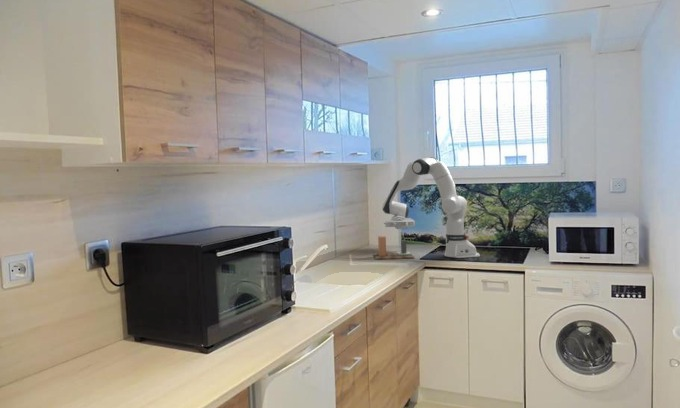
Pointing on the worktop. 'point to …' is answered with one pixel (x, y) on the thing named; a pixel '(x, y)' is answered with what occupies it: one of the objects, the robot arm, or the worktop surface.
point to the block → (382, 245)
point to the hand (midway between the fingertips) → (401, 224)
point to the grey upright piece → (403, 249)
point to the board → (392, 256)
